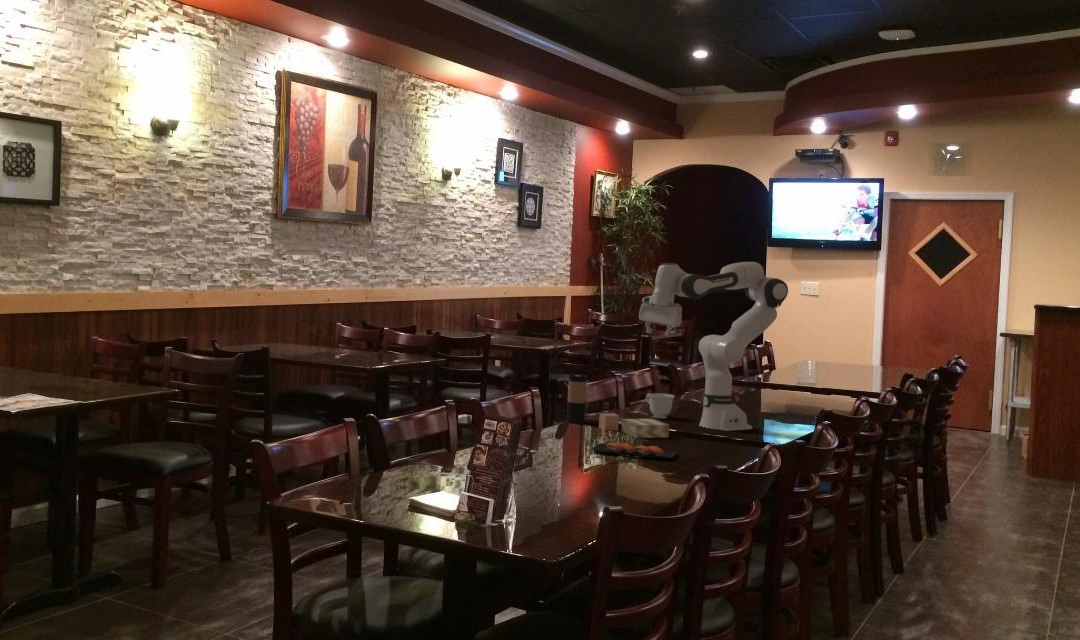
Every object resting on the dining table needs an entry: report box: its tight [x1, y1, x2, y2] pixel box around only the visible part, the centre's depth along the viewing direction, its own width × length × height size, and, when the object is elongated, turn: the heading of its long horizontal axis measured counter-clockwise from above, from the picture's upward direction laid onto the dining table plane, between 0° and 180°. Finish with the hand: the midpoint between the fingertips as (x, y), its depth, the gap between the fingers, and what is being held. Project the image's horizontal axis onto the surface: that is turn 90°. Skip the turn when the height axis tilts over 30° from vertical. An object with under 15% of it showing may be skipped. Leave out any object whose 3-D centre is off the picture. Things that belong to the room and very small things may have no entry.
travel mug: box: [566, 373, 588, 425], centre depth 398 cm, size 8×8×20 cm
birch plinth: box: [620, 418, 670, 439], centre depth 378 cm, size 14×14×5 cm
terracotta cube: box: [598, 412, 620, 431], centre depth 386 cm, size 6×6×6 cm
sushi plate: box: [592, 442, 677, 463], centre depth 329 cm, size 29×30×4 cm
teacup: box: [645, 392, 675, 419], centre depth 424 cm, size 12×15×10 cm
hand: (657, 334), depth 391 cm, fingers open, 8 cm apart
